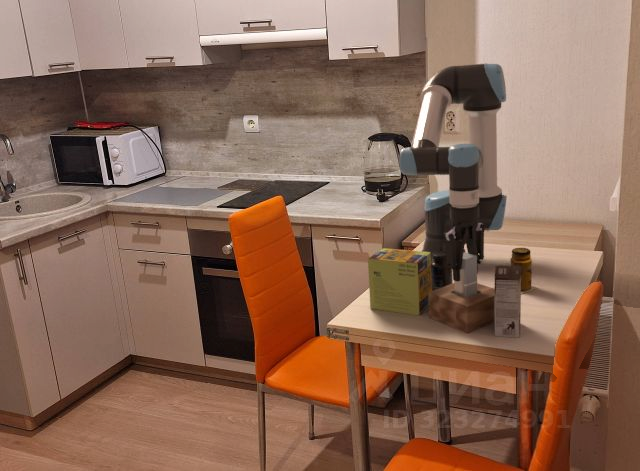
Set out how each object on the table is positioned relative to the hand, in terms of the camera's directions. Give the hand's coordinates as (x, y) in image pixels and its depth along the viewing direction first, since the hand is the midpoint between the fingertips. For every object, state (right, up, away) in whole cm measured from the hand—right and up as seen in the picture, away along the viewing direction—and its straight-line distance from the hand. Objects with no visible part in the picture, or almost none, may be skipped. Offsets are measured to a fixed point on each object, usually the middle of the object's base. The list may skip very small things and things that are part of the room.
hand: (465, 288), depth 180 cm
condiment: (+20, -2, +20) cm, 28 cm away
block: (+1, -8, +2) cm, 8 cm away
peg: (0, -4, +1) cm, 5 cm away
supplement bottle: (-2, -3, +23) cm, 23 cm away
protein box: (-16, -6, +14) cm, 22 cm away
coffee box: (+9, -10, -7) cm, 15 cm away
